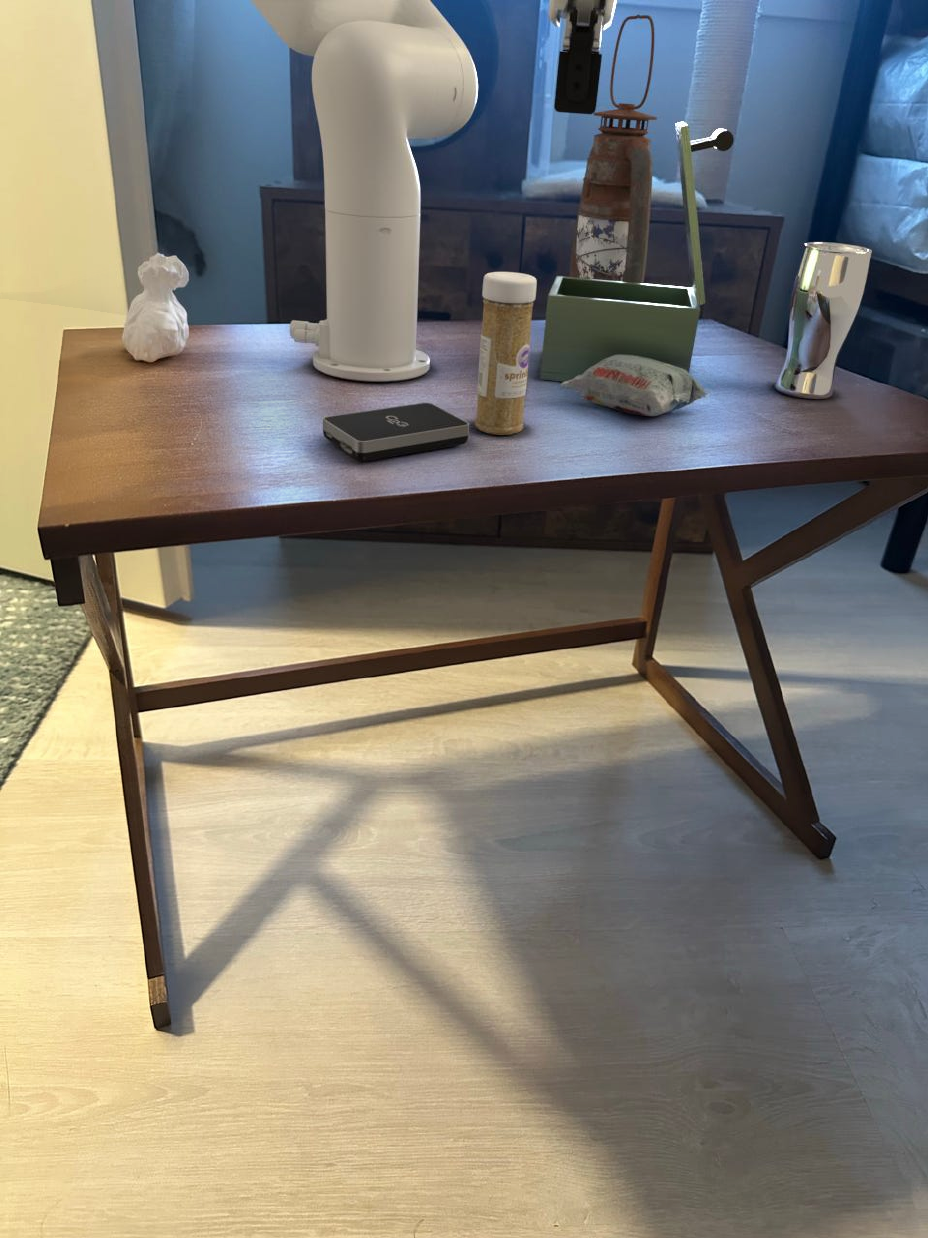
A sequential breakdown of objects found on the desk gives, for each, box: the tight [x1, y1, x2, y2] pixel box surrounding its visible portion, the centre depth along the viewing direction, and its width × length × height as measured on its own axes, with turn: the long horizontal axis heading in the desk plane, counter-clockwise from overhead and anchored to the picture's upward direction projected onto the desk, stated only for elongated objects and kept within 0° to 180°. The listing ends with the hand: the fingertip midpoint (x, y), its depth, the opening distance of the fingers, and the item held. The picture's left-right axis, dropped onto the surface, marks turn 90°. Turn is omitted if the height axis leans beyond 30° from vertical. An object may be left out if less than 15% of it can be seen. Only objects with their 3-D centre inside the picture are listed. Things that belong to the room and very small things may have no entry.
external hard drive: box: [322, 402, 470, 462], centre depth 79 cm, size 7×11×2 cm, turn 124°
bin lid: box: [675, 121, 735, 306], centre depth 95 cm, size 16×12×5 cm
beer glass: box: [775, 241, 873, 400], centre depth 99 cm, size 7×7×15 cm
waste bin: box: [539, 275, 701, 383], centre depth 102 cm, size 16×12×9 cm
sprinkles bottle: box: [474, 271, 538, 436], centre depth 82 cm, size 5×5×13 cm
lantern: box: [569, 13, 658, 284], centre depth 111 cm, size 11×16×35 cm
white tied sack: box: [121, 252, 190, 363], centre depth 98 cm, size 12×8×11 cm
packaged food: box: [560, 354, 708, 417], centre depth 91 cm, size 9×12×5 cm
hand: (575, 111), depth 76 cm, fingers open, 9 cm apart
